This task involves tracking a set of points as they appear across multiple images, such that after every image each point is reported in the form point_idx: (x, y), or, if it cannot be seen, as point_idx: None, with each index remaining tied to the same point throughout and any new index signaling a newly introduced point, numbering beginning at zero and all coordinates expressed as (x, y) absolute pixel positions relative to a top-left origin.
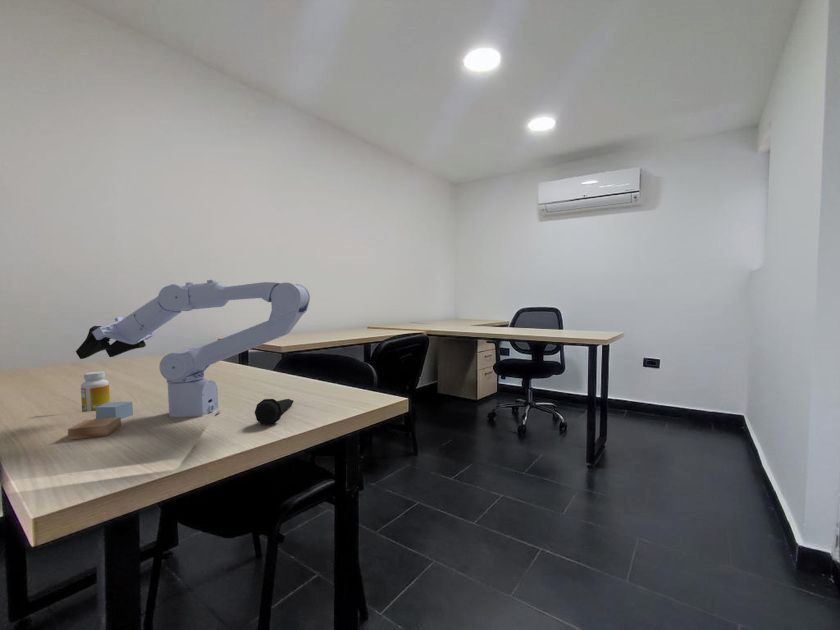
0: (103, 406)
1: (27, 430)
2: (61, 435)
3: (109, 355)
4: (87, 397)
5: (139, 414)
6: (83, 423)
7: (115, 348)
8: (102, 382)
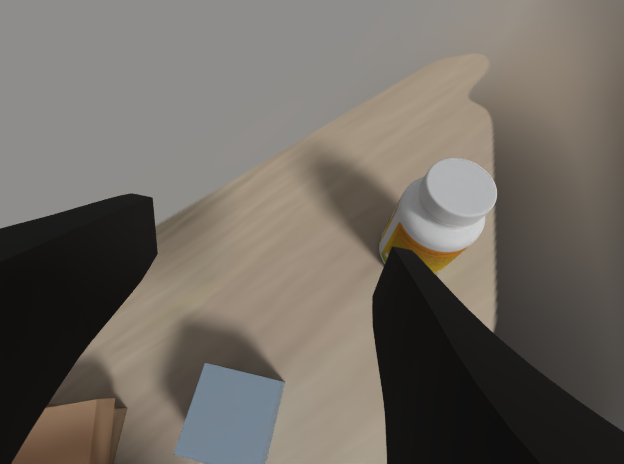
0: (206, 389)
1: (255, 198)
2: (174, 311)
3: (375, 291)
4: (390, 227)
5: (350, 430)
6: (44, 426)
7: (395, 325)
8: (435, 240)
